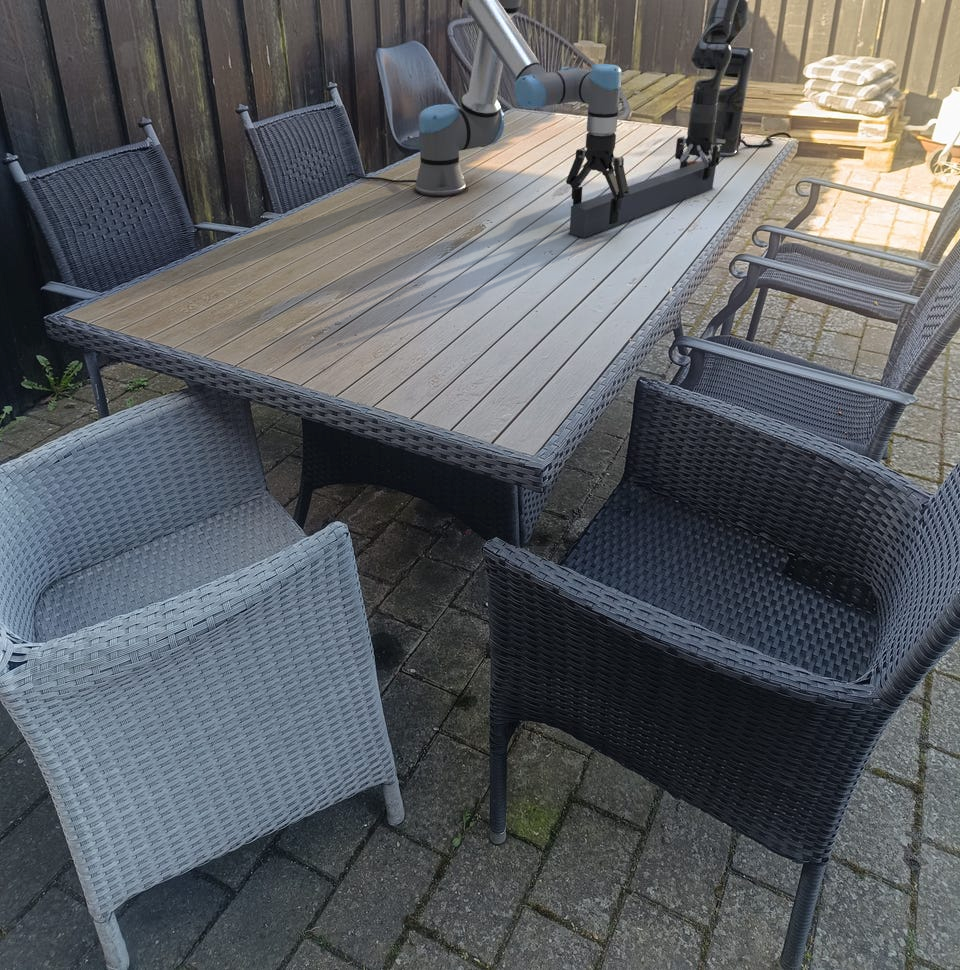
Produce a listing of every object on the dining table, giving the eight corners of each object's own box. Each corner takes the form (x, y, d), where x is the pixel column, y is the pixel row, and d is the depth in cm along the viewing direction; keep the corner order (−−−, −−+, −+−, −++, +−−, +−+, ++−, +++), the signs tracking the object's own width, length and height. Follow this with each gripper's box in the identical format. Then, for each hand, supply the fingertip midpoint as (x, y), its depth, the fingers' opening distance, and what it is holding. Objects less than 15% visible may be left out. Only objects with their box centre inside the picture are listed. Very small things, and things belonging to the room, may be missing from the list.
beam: (583, 238, 223) (585, 210, 219) (569, 233, 226) (571, 205, 222) (712, 188, 259) (716, 163, 255) (698, 185, 262) (702, 160, 258)
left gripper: (649, 138, 209) (639, 224, 222) (574, 122, 223) (569, 204, 236) (631, 143, 205) (622, 231, 218) (555, 127, 219) (551, 210, 231)
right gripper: (731, 121, 242) (721, 179, 252) (688, 113, 250) (680, 170, 260) (716, 125, 238) (707, 184, 247) (674, 117, 246) (667, 175, 256)
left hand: (594, 217), depth 227 cm, fingers open, 12 cm apart
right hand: (694, 177), depth 254 cm, fingers open, 7 cm apart
